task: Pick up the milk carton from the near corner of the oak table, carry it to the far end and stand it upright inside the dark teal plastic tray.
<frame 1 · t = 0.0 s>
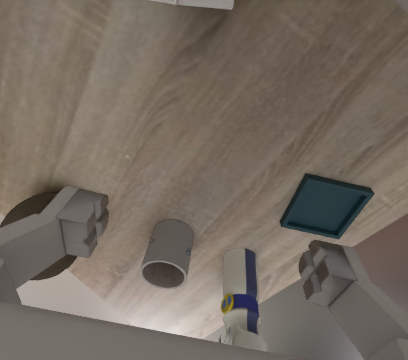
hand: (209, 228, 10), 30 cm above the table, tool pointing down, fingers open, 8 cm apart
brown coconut: (67, 207, 53), on the table
tray: (322, 205, 47), on the table
mug: (170, 238, 56), on the table
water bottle: (238, 259, 58), on the table
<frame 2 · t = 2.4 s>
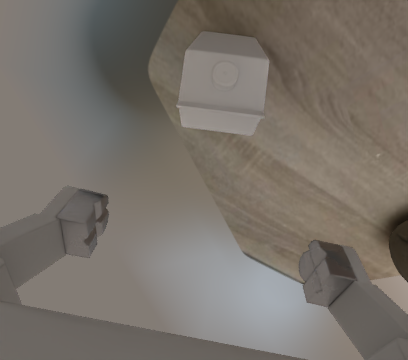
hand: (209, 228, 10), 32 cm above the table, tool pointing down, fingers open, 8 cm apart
milk carton: (224, 62, 36), on the table
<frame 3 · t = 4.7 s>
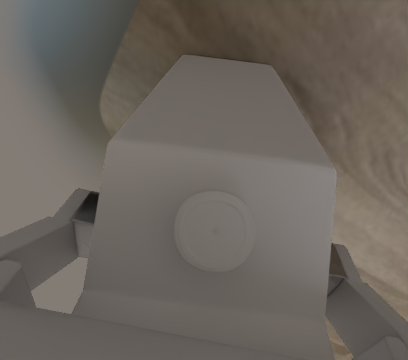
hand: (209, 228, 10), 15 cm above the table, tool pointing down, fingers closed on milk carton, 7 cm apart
milk carton: (221, 102, 22), on the table, touching gripper
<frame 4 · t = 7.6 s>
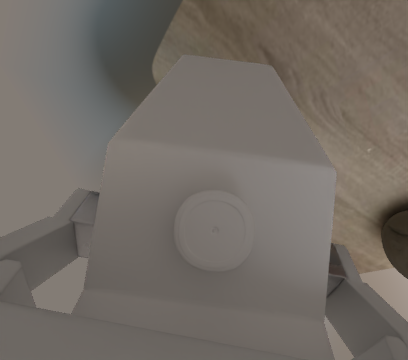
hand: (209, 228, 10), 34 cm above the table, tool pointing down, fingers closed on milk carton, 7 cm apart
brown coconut: (407, 217, 52), on the table
milk carton: (221, 102, 22), point 19 cm above the table, touching gripper
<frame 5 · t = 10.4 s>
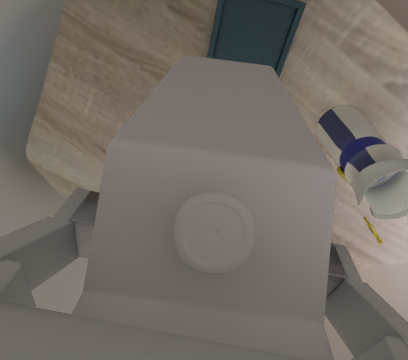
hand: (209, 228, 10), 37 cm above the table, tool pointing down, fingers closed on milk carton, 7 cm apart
milk carton: (221, 103, 22), point 22 cm above the table, touching gripper
tray: (250, 39, 39), on the table
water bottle: (338, 127, 46), on the table
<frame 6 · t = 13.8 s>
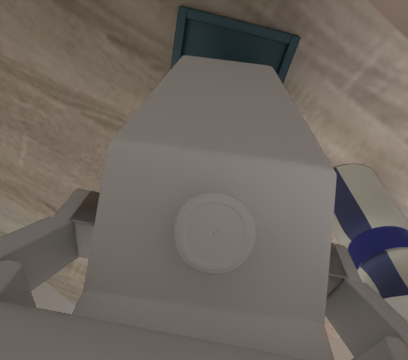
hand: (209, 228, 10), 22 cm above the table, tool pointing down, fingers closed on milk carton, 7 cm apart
milk carton: (221, 103, 22), point 7 cm above the table, touching gripper
tray: (224, 81, 28), on the table
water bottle: (345, 188, 35), on the table
when the fingers open (15 cm above the table, at t = 16.2 s): milk carton stays where it is, resting on tray.
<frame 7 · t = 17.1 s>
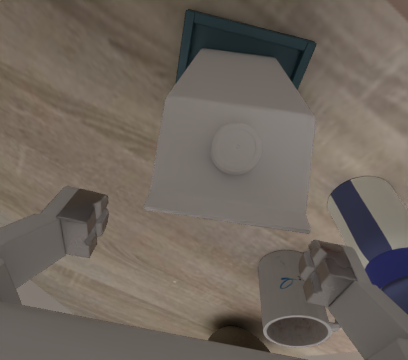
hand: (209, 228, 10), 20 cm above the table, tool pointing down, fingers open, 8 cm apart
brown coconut: (238, 327, 55), on the table
milk carton: (232, 89, 26), resting on tray
tray: (233, 89, 27), on the table
mug: (293, 270, 42), on the table
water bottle: (358, 201, 33), on the table
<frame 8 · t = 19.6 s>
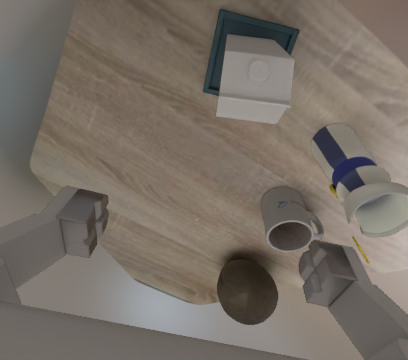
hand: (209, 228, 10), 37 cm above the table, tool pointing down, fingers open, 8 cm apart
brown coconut: (245, 262, 69), on the table
milk carton: (246, 61, 40), resting on tray
tray: (247, 61, 41), on the table
mug: (287, 205, 57), on the table
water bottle: (332, 144, 47), on the table
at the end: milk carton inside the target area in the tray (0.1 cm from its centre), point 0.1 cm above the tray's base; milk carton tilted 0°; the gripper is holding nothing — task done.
